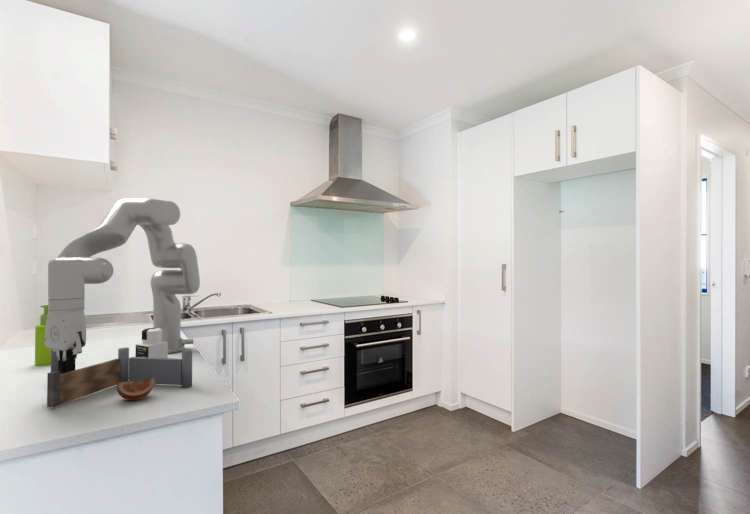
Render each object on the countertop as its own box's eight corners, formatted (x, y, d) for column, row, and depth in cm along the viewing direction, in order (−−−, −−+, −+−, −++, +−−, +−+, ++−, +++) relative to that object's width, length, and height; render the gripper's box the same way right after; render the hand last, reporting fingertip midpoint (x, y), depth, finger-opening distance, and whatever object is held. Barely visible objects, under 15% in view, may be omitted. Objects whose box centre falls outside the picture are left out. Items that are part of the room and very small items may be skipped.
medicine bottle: (134, 364, 131) (135, 329, 131) (155, 360, 137) (155, 326, 138) (147, 367, 128) (148, 331, 128) (168, 362, 134) (168, 327, 134)
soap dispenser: (50, 365, 130) (51, 305, 130) (30, 365, 130) (30, 305, 130) (64, 361, 135) (65, 304, 136) (45, 361, 136) (46, 304, 136)
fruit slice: (153, 392, 103) (153, 374, 103) (157, 399, 98) (157, 380, 98) (115, 399, 98) (116, 379, 98) (117, 407, 93) (118, 386, 93)
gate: (115, 383, 109) (115, 355, 109) (120, 383, 109) (120, 355, 109) (46, 407, 91) (47, 373, 91) (53, 407, 91) (53, 373, 91)
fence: (193, 385, 109) (194, 349, 109) (188, 388, 107) (188, 351, 107) (56, 378, 115) (56, 345, 115) (47, 381, 112) (48, 347, 112)
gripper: (33, 305, 101) (33, 375, 102) (68, 308, 96) (68, 382, 96) (65, 302, 108) (65, 367, 109) (100, 304, 103) (100, 374, 103)
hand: (66, 374), depth 102 cm, fingers closed
